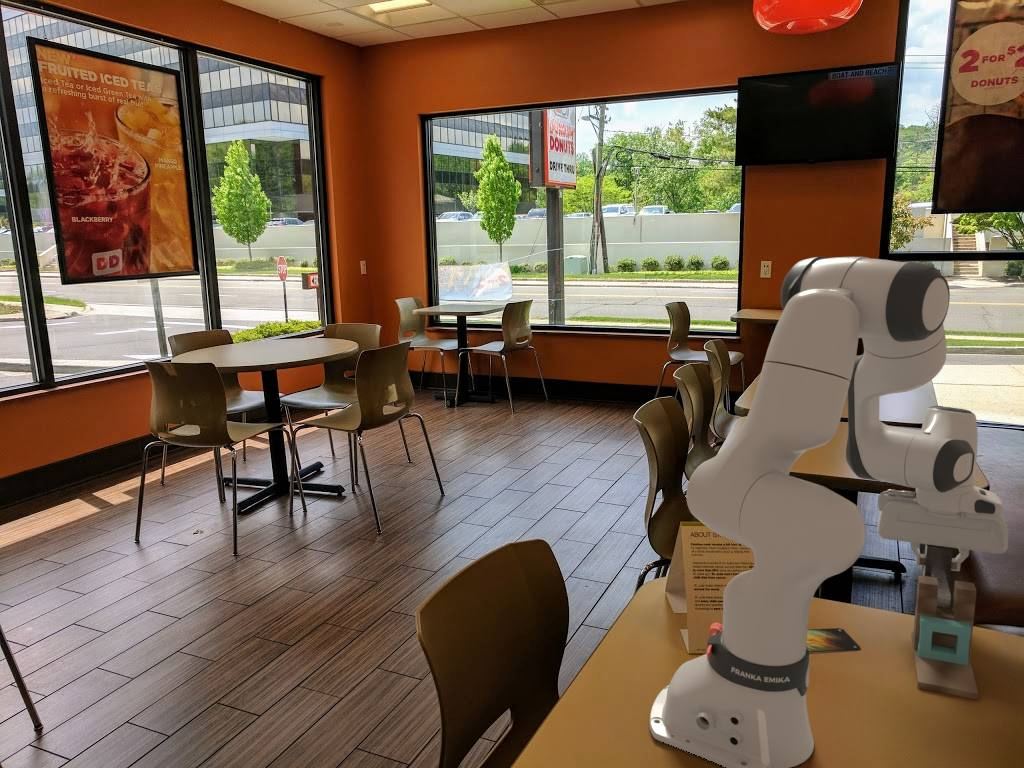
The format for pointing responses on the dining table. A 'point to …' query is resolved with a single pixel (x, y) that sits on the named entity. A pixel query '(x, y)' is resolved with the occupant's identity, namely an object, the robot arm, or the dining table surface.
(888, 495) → the robot arm
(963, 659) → the spacer
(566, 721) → the dining table surface
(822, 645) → the smartphone
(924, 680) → the stand
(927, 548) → the shaft
